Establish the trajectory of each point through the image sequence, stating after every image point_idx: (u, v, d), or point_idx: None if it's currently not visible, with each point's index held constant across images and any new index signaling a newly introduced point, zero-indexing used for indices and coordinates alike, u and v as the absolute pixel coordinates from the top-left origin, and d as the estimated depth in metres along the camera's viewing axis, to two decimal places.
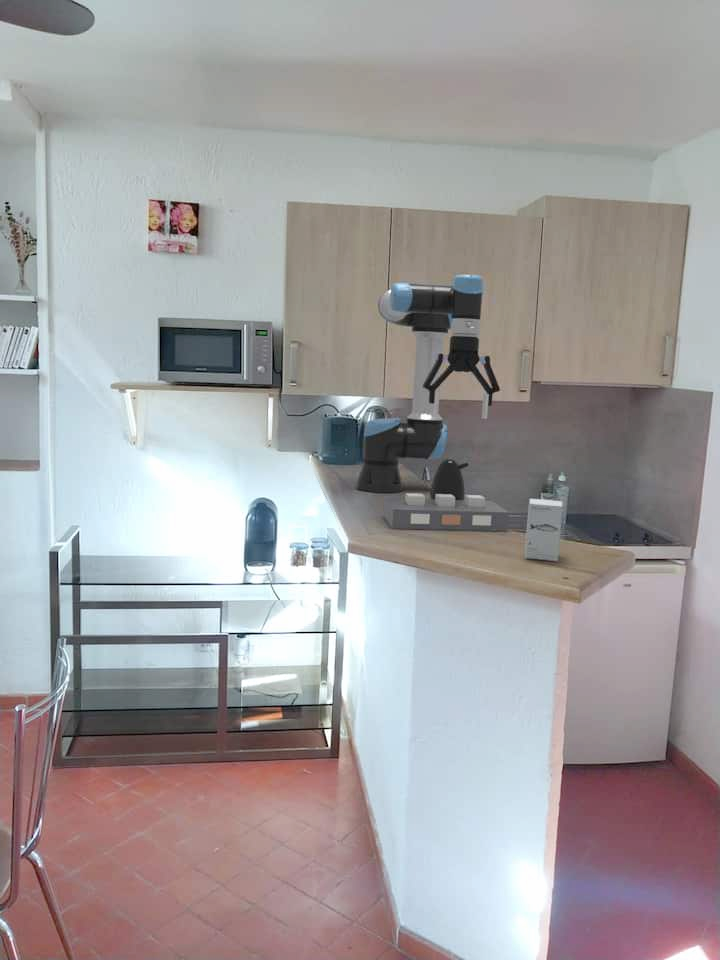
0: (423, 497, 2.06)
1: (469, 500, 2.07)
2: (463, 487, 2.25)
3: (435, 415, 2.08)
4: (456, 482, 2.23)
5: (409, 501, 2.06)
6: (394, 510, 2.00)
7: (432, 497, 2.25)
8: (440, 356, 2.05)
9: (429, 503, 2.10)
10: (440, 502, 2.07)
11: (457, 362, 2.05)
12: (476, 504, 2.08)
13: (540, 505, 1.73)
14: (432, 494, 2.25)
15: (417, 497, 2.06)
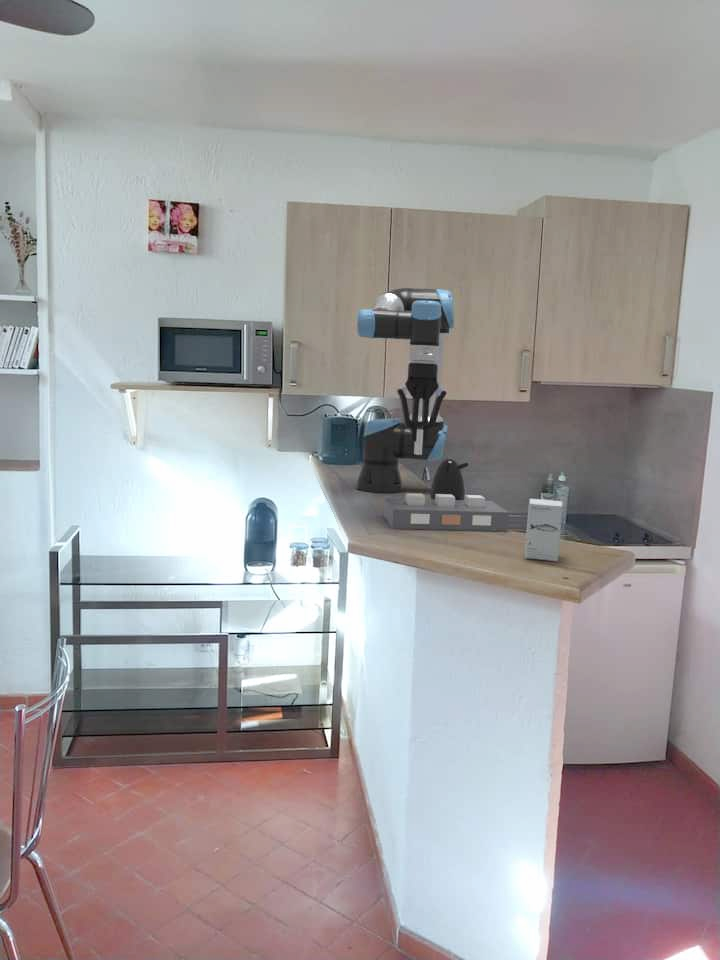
0: (423, 497, 2.06)
1: (469, 500, 2.07)
2: (463, 487, 2.25)
3: (417, 453, 2.05)
4: (456, 482, 2.23)
5: (409, 501, 2.06)
6: (394, 510, 2.00)
7: (432, 497, 2.25)
8: (400, 392, 2.02)
9: (429, 503, 2.10)
10: (440, 502, 2.07)
11: (417, 390, 2.02)
12: (476, 504, 2.08)
13: (540, 505, 1.73)
14: (432, 494, 2.25)
15: (417, 497, 2.06)
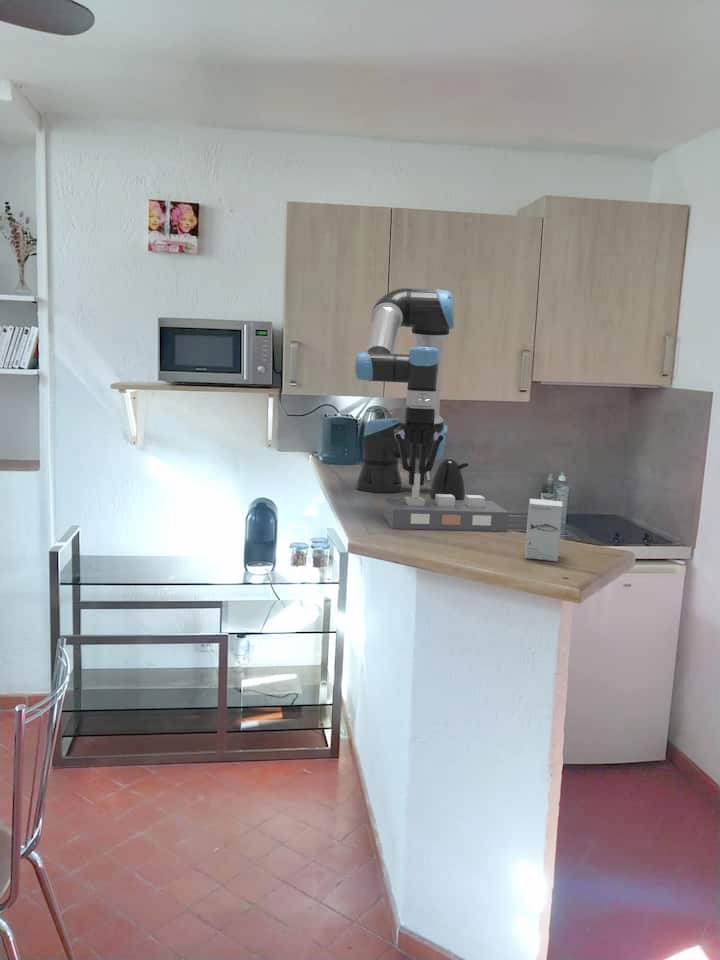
0: (423, 500, 2.06)
1: (469, 500, 2.07)
2: (463, 487, 2.25)
3: (415, 497, 2.06)
4: (456, 482, 2.23)
5: (409, 504, 2.06)
6: (394, 510, 2.00)
7: (432, 497, 2.25)
8: (397, 436, 2.04)
9: (429, 503, 2.10)
10: (440, 502, 2.07)
11: (414, 435, 2.03)
12: (476, 504, 2.08)
13: (540, 505, 1.73)
14: (432, 494, 2.25)
15: (417, 500, 2.06)
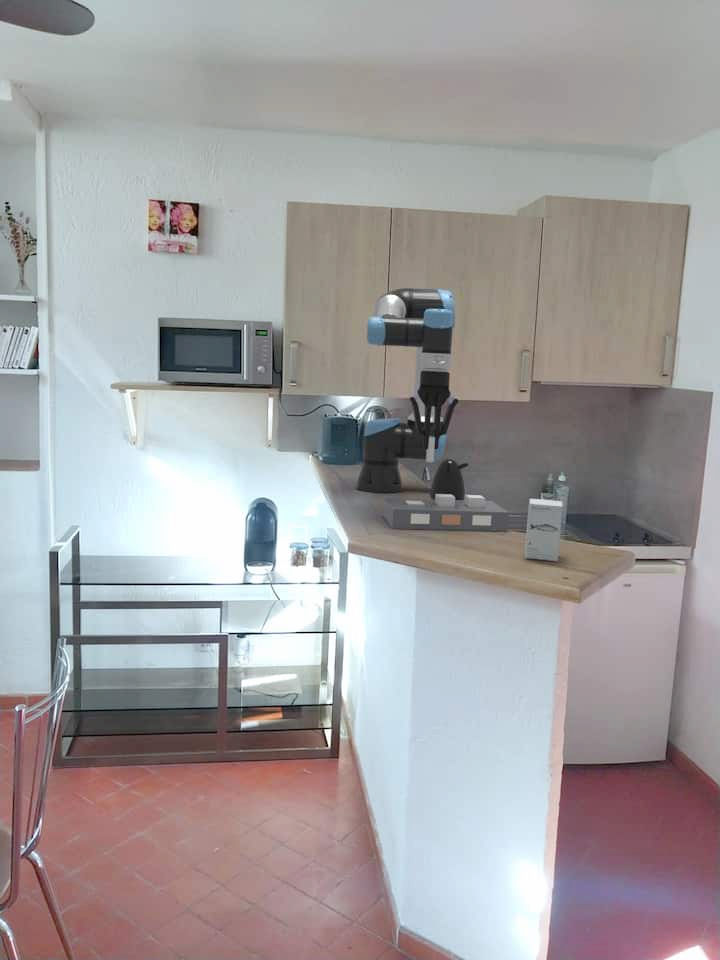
0: (423, 504, 2.06)
1: (469, 500, 2.07)
2: (463, 487, 2.25)
3: (429, 461, 2.05)
4: (456, 482, 2.23)
5: None
6: (394, 510, 2.00)
7: (432, 497, 2.25)
8: (412, 400, 2.03)
9: (429, 503, 2.10)
10: (440, 502, 2.07)
11: (429, 398, 2.02)
12: (476, 504, 2.08)
13: (540, 505, 1.73)
14: (432, 494, 2.25)
15: (417, 504, 2.06)
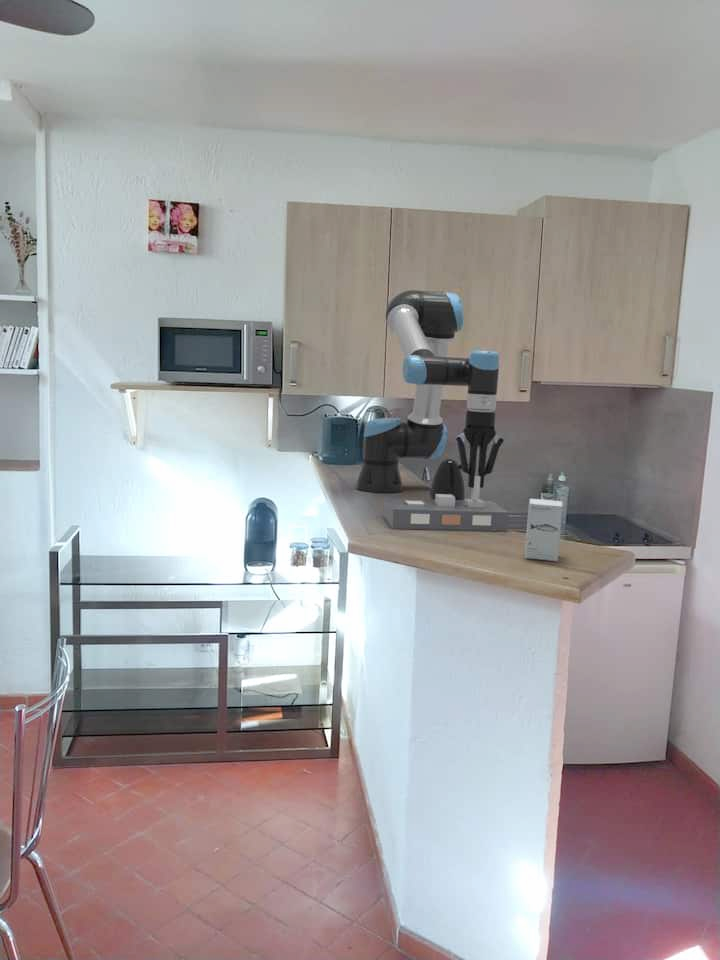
0: (423, 504, 2.06)
1: (469, 504, 2.08)
2: (463, 487, 2.25)
3: (475, 499, 2.08)
4: (456, 482, 2.23)
5: None
6: (394, 510, 2.00)
7: (432, 497, 2.25)
8: (458, 440, 2.05)
9: (429, 503, 2.10)
10: (440, 502, 2.07)
11: (475, 438, 2.05)
12: None
13: (540, 505, 1.73)
14: (432, 494, 2.25)
15: (417, 504, 2.06)
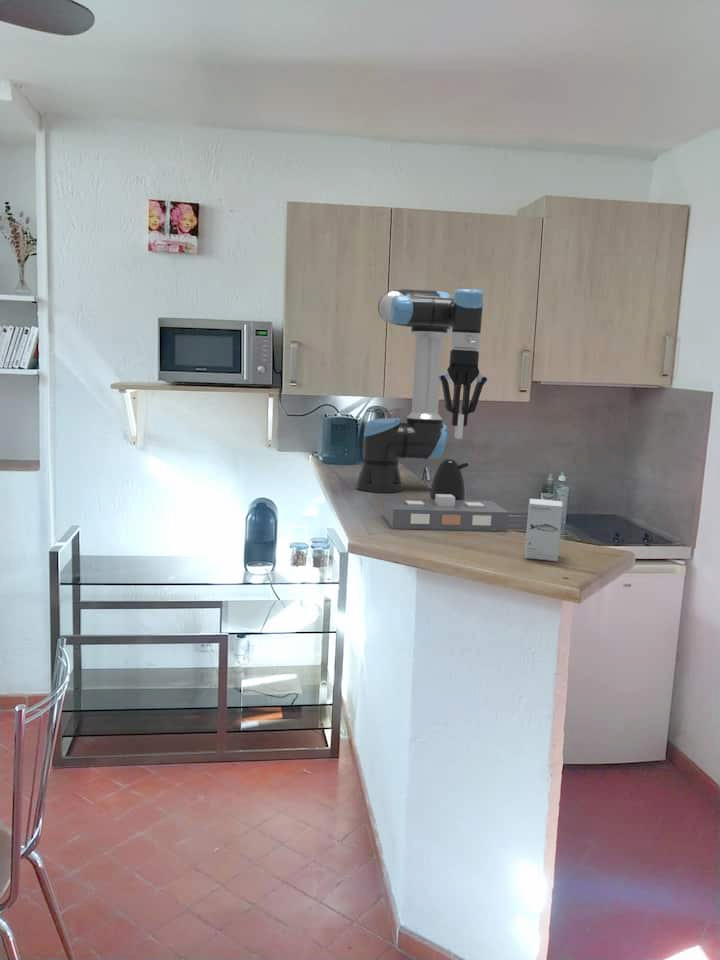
0: (423, 504, 2.06)
1: None
2: (463, 487, 2.25)
3: (458, 437, 2.12)
4: (456, 482, 2.23)
5: None
6: (394, 510, 2.00)
7: (432, 497, 2.25)
8: (442, 378, 2.08)
9: (429, 503, 2.10)
10: (440, 502, 2.07)
11: (459, 377, 2.08)
12: None
13: (540, 505, 1.73)
14: (432, 494, 2.25)
15: (417, 504, 2.06)
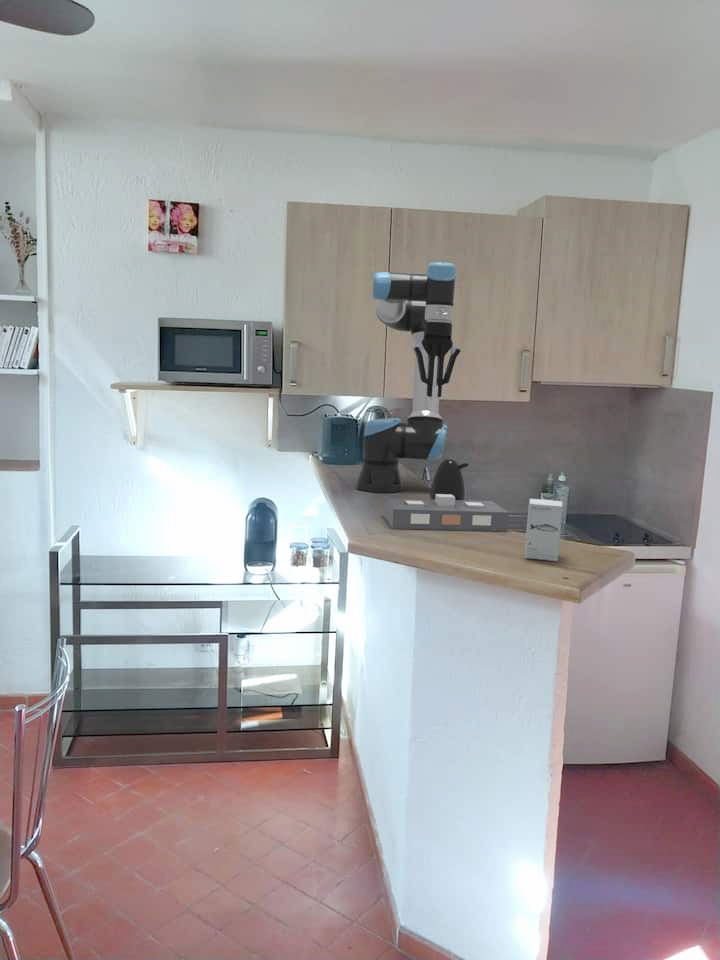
0: (423, 504, 2.06)
1: None
2: (463, 487, 2.25)
3: (433, 408, 2.17)
4: (456, 482, 2.23)
5: None
6: (394, 510, 2.00)
7: (432, 497, 2.25)
8: (416, 349, 2.14)
9: (429, 503, 2.10)
10: (440, 502, 2.07)
11: (432, 348, 2.13)
12: None
13: (540, 505, 1.73)
14: (432, 494, 2.25)
15: (417, 504, 2.06)
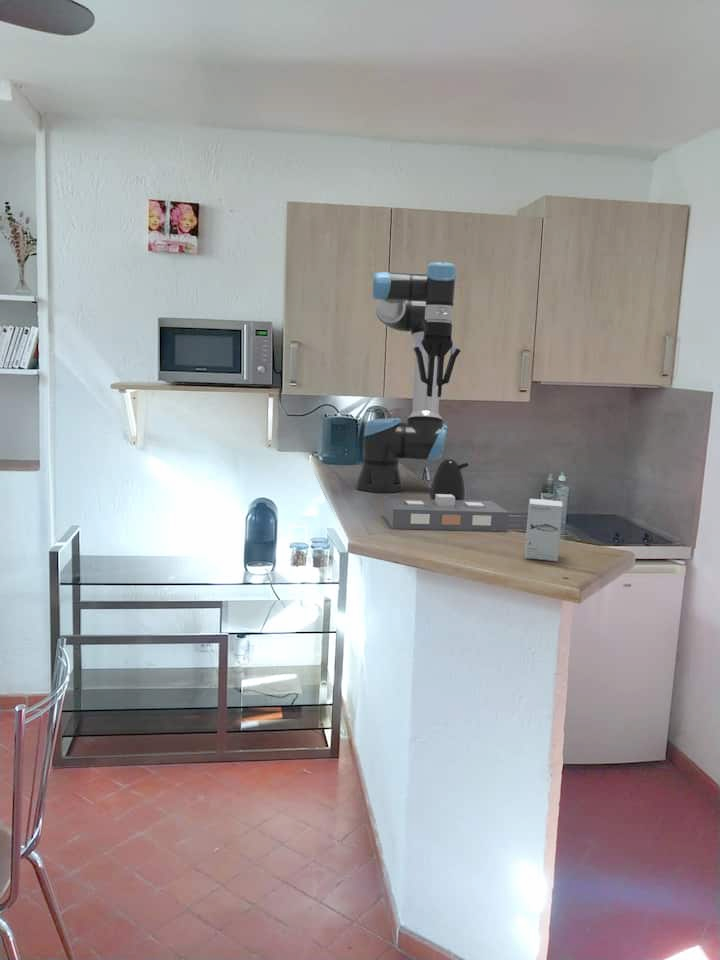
0: (423, 504, 2.06)
1: None
2: (463, 487, 2.25)
3: (433, 408, 2.17)
4: (456, 482, 2.23)
5: None
6: (394, 510, 2.00)
7: (432, 497, 2.25)
8: (416, 349, 2.14)
9: (429, 503, 2.10)
10: (440, 502, 2.07)
11: (432, 348, 2.13)
12: None
13: (540, 505, 1.73)
14: (432, 494, 2.25)
15: (417, 504, 2.06)
